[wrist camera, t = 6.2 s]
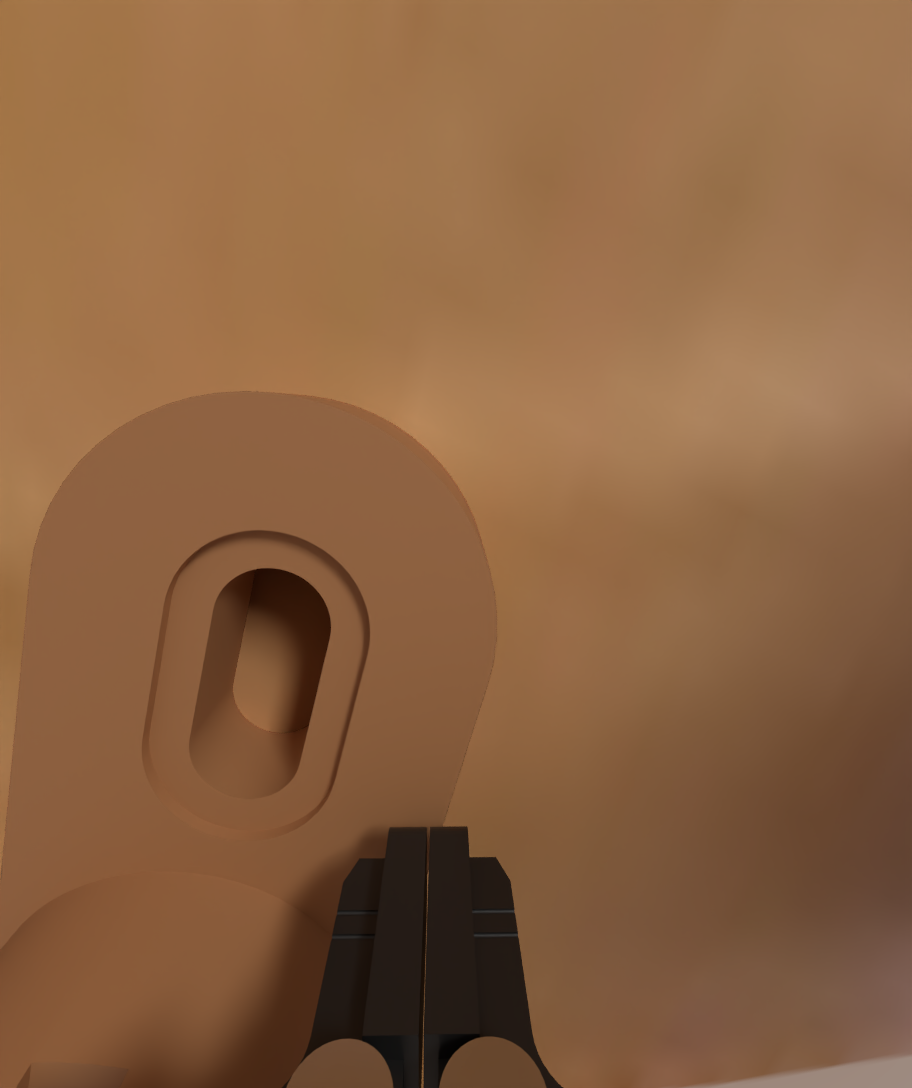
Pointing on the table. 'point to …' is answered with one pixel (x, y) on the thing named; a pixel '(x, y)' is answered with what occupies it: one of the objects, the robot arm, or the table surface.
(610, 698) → the table surface
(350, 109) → the table surface
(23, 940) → the bracket
